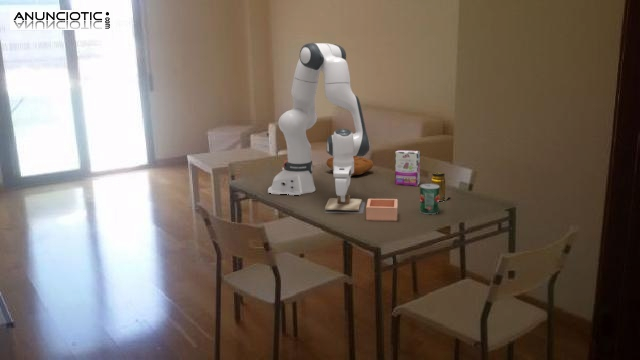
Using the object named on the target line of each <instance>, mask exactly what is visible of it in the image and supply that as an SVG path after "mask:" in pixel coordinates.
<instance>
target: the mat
mask: <svg viewBox="0 0 640 360" xmlns="http://www.w3.org/2000/svg"><path fill="white" fill-rule="evenodd" d="M365 206H366V201H361V204H360V208H359V211H356V210H327V209H324V213H327V214H329V213H330V214H338V213H339V214H364V210H365Z"/></svg>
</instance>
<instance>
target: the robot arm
mask: <svg viewBox="0 0 640 360" xmlns="http://www.w3.org/2000/svg"><path fill="white" fill-rule="evenodd" d="M299 51H300V52H299V58H298V61H297V64H296V67H295V70H294V75H293V80H292V84H291V85H292V86H291V91H290V95H291V96H292V101H293V102H292V104H293V105H292V108H291V109H290V110H287V111H285V112H284V113H283V114H281V115H280V117H279V119H278V122H277V123H278V128H279V131H281V132H282V134H283V136H284V141H285V142H286V151H287V152H286V153H287V159H286V160H284V162H283V170H281V171H280V172H279V173H277V174H276V175H275V176H274V177H273V180H272V183H271V184H272V185H270V186H269V187H268V189H267V193H268V194H269V193H271V194H270V195H280V194H287V195H286V196H294V195H299V196H302V195H301V194H308V193H313V192H315V191H316V187H315V186H316V185H315V182H314V178H313V171H314V169H313V168H314V166H313V165H314V164H313V160H312V145H311V143H310V142H309V139H308V136H307V133H306V131H307V130H310V129H311V128H312V127H313V126H314V125H315V124H316V123H317V121H318V120H317V119H318V115H317V112H316V94H317V88H318V83H319V78H320V73H321V72H322V73H323V85H324V86H323V87H324V94H325V95H324V96H325V98H326V99H327V100H328V102H329V103H331V104H333V105H335V106H337V107H340V108H343V109H346V110H348V111H349V112H350V113H351V116H352V119H353V124H354V128H355V132H354V133H353V132H352V130H350V129H348V128H339V129H336V130H335V131H334V132H333V134H331V135H329V136H328V138H327V139H326V153H327V154H329V155H330V156H331V157H333V158H334V159H333V169H332V173H333V174H332V175H333V178H334V184H335V185H334V186H335V187H334V188H335V194H336V196H340V197H341V202H345V195H348V189H349V187H350V185H351V177H352V175H351V174H353V173H354V159H353V156H357V157H362V158H364V156H366V155H367V154H368V152H369V151H370V150H371V149H370V147H371V143H370V140H369V135H368V133H367V128H366V124H365V119H364V115H363V110H362V105H361V102H360V99H359V96H358V95H355V94H354V91H352V90H353V89H352V87H351V75H350V69H349V65H348V64H349V63H348V62H347V53H346V50H345V49H344V47H342V46H340V45H338V44H332V43H326V42H321V43H320V42H317V43H314V42H311V43H305V44H304V45H302V47H301V48H300V50H299ZM288 194H289V195H288Z"/></svg>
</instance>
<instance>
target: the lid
mask: <svg viewBox="0 0 640 360" xmlns="http://www.w3.org/2000/svg"><path fill="white" fill-rule="evenodd" d="M336 196H337V195H336ZM361 202H363V200H362V198H351V195H350V194H346V195H345V202H341V197H340V196H337V197H329V199H328V200H327V203H326V205H325V207H324V210H326V209H327V210H356V211H359V208H360V204H361Z"/></svg>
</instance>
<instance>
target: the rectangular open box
mask: <svg viewBox="0 0 640 360" xmlns="http://www.w3.org/2000/svg"><path fill="white" fill-rule="evenodd" d="M365 206H366V207H365V214H366V215H365V217H366V221H373V222H375V221H377V222H378V221H380V222H397V221H398V206H399V205H398V199H397V198H368V199H367V203H366V205H365Z"/></svg>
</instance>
